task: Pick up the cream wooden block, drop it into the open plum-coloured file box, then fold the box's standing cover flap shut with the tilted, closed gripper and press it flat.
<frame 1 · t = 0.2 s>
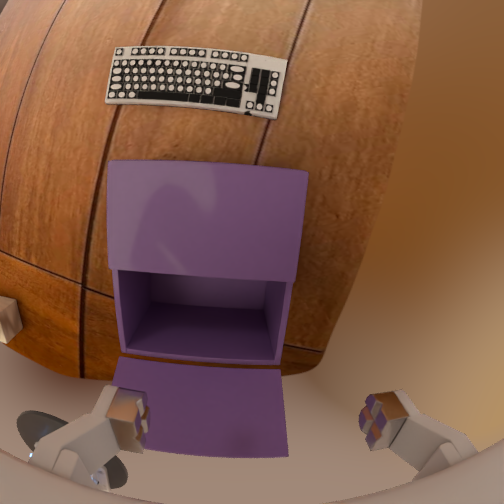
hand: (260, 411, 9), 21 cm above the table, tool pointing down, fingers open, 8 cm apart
keyboard: (192, 79, 25), on the table
flap: (194, 408, 19), point 14 cm above the table, hinge at 110.0°
file box: (209, 240, 29), on the table
block: (9, 311, 30), on the table
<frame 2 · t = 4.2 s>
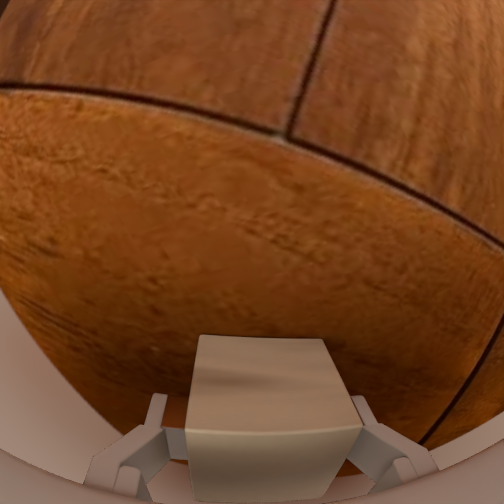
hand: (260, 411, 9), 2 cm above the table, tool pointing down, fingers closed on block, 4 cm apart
block: (256, 383, 11), on the table, touching gripper
when the fingers open (12 cm above the table, at t = 10.8 s): block drops 10 cm, resting on file box.
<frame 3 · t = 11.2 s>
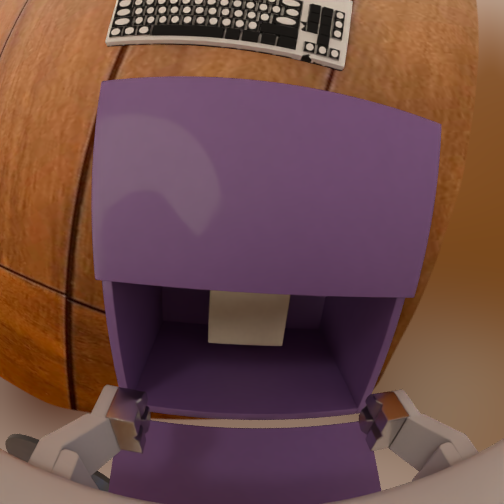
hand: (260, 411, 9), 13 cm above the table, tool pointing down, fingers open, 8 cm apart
keyboard: (228, 14, 16), on the table
flap: (249, 495, 10), point 14 cm above the table, hinge at 110.0°
file box: (249, 233, 20), on the table
block: (245, 282, 21), resting on file box
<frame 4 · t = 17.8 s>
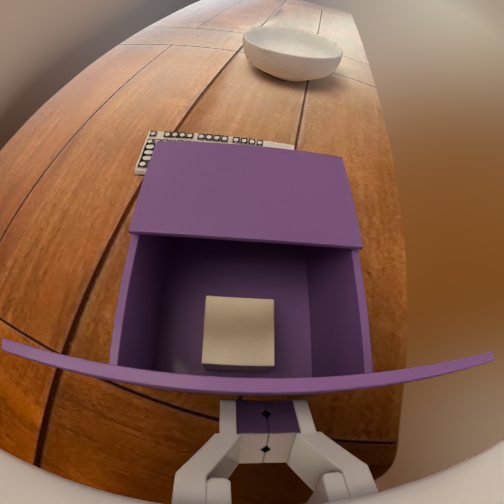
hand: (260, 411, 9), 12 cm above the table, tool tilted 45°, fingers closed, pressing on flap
cereal bowl: (286, 72, 45), on the table
keyboard: (215, 162, 32), on the table
flap: (256, 389, 9), point 14 cm above the table, hinge at 90.9°, touching gripper
file box: (236, 304, 24), on the table
block: (235, 344, 22), resting on file box
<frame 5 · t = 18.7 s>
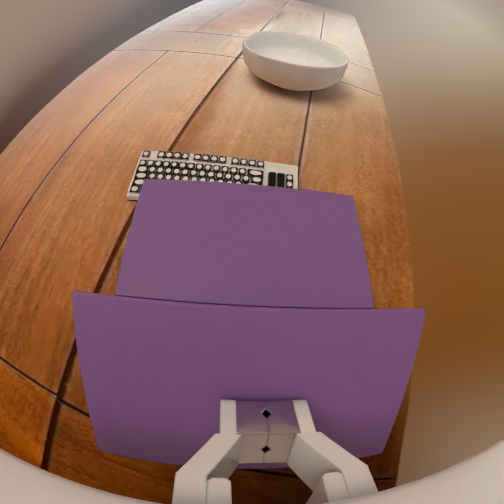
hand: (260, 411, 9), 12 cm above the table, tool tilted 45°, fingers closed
cereal bowl: (289, 81, 44), on the table
keyboard: (213, 185, 30), on the table
flap: (251, 402, 10), point 12 cm above the table, hinge at 34.3°, touching gripper
file box: (235, 347, 22), on the table
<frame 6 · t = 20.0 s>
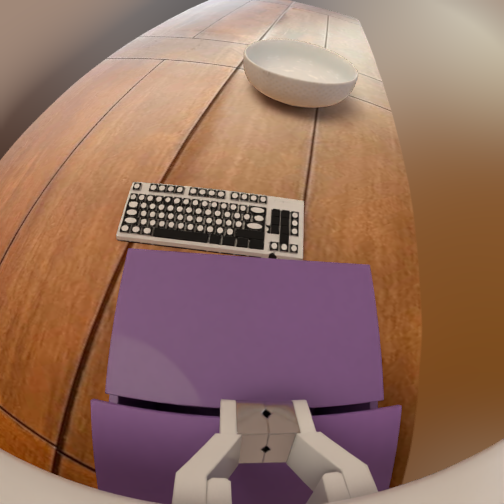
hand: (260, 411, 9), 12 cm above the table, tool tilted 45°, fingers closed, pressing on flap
cereal bowl: (293, 95, 41), on the table
keyboard: (211, 223, 28), on the table
flap: (250, 494, 9), point 11 cm above the table, hinge at 12.5°, touching gripper
file box: (236, 406, 20), on the table
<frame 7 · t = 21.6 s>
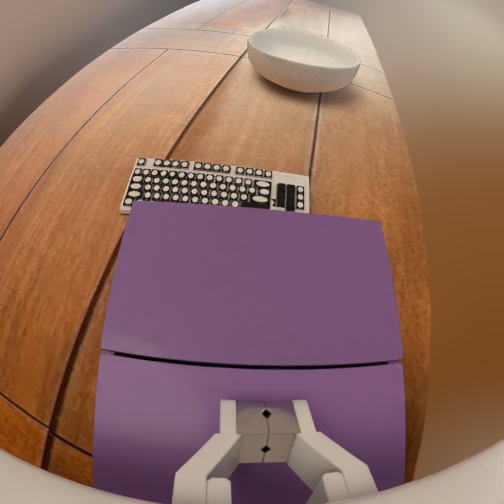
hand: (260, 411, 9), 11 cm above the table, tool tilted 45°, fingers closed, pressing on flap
cereal bowl: (296, 82, 41), on the table
keyboard: (216, 198, 27), on the table
flap: (258, 458, 9), point 10 cm above the table, hinge at -0.8°, touching gripper
file box: (241, 383, 20), on the table
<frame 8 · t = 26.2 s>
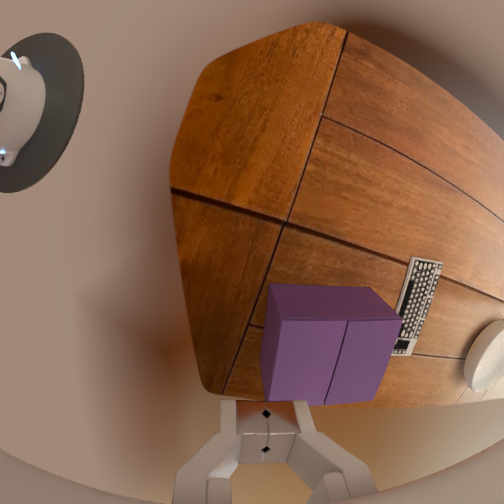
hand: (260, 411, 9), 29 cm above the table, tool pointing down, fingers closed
cereal bowl: (480, 344, 48), on the table
keyboard: (409, 307, 43), on the table
flap: (305, 368, 32), point 10 cm above the table, hinge at -0.9°
file box: (314, 326, 42), on the table
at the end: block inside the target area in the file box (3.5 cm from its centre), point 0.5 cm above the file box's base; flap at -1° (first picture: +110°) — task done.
